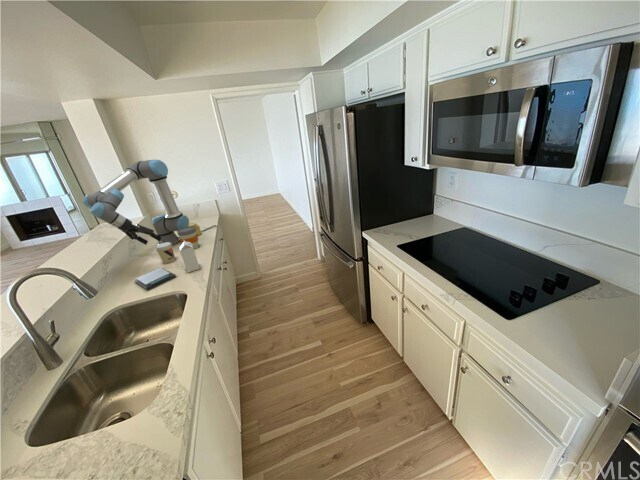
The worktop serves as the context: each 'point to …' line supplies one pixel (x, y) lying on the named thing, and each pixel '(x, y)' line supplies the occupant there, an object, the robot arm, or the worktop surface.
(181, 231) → the reusable coffee cup
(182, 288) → the worktop surface
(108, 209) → the robot arm
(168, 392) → the worktop surface
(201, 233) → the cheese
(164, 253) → the coffee cup
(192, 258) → the milk carton
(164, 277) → the scale
